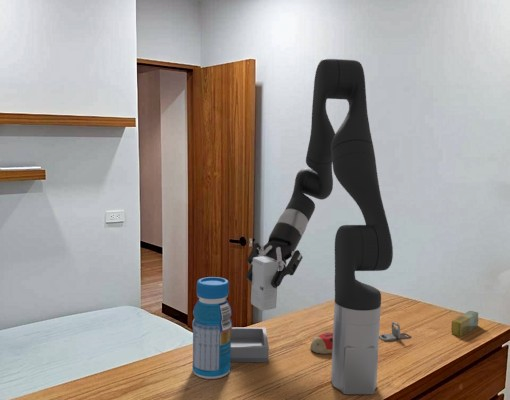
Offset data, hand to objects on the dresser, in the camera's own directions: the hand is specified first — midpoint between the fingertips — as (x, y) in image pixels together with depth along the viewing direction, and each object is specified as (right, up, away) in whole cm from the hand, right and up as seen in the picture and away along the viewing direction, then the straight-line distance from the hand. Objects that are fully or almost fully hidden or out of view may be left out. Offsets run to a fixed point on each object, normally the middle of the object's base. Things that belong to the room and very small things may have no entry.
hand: (261, 283), depth 120 cm
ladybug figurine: (+16, -16, -1) cm, 23 cm away
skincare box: (+1, -6, +2) cm, 7 cm away
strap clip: (+35, -16, +7) cm, 39 cm away
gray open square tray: (-5, -15, -4) cm, 17 cm away
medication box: (+56, -15, +14) cm, 60 cm away
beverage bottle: (-11, -17, -15) cm, 25 cm away
